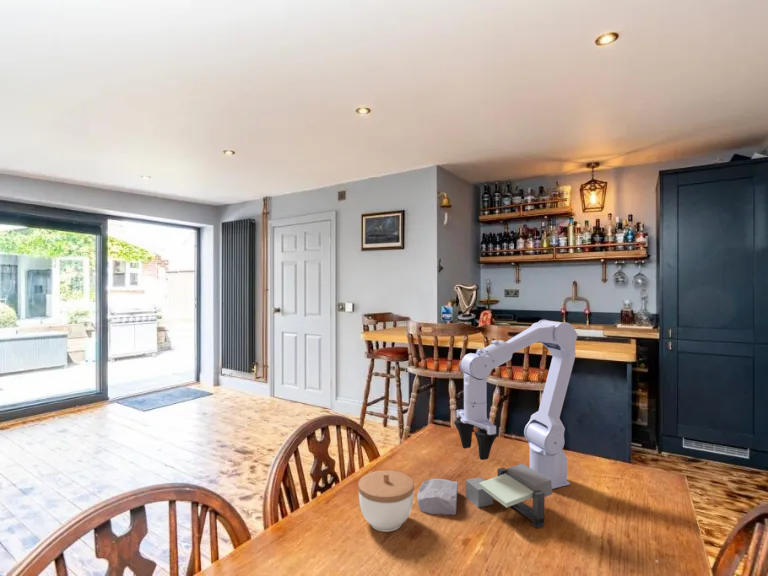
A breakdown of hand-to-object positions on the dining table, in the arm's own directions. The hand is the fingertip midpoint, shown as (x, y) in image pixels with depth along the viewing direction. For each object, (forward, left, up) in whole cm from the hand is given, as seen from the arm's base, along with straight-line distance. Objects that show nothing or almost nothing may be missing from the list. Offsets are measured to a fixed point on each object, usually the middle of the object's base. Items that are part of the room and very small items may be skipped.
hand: (475, 453), depth 107 cm
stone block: (+11, 0, -11) cm, 15 cm away
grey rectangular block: (+1, +6, -8) cm, 10 cm away
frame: (-5, +11, -10) cm, 16 cm away
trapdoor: (-3, +11, -6) cm, 13 cm away
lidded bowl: (+26, +3, -11) cm, 29 cm away
